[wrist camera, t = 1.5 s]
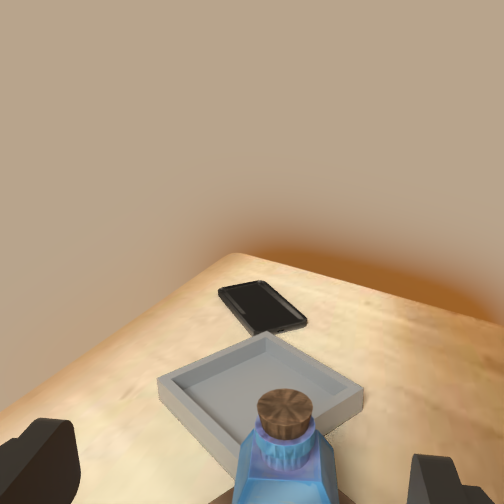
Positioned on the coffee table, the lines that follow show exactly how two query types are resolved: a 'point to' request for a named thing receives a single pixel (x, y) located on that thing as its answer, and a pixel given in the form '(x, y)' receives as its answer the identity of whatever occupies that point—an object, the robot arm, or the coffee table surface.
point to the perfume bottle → (285, 455)
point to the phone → (261, 308)
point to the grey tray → (252, 392)
